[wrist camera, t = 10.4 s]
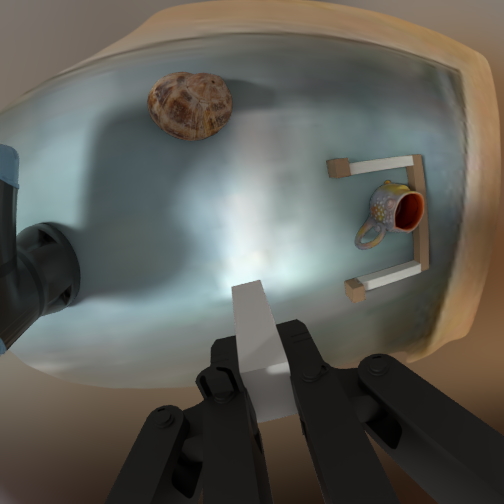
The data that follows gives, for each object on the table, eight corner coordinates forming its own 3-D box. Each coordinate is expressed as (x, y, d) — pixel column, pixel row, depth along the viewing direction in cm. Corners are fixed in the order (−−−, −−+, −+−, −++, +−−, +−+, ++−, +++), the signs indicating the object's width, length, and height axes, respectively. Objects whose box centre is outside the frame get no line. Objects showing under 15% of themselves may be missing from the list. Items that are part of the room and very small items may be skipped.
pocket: (346, 294, 42) (353, 303, 39) (326, 160, 36) (334, 160, 33) (422, 269, 42) (432, 276, 39) (412, 149, 36) (424, 148, 33)
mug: (390, 173, 37) (415, 175, 31) (410, 208, 39) (435, 216, 33) (333, 221, 39) (352, 231, 32) (357, 255, 41) (377, 270, 34)
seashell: (217, 56, 30) (226, 65, 24) (232, 111, 37) (244, 136, 30) (144, 81, 30) (131, 97, 24) (164, 133, 37) (159, 163, 31)
